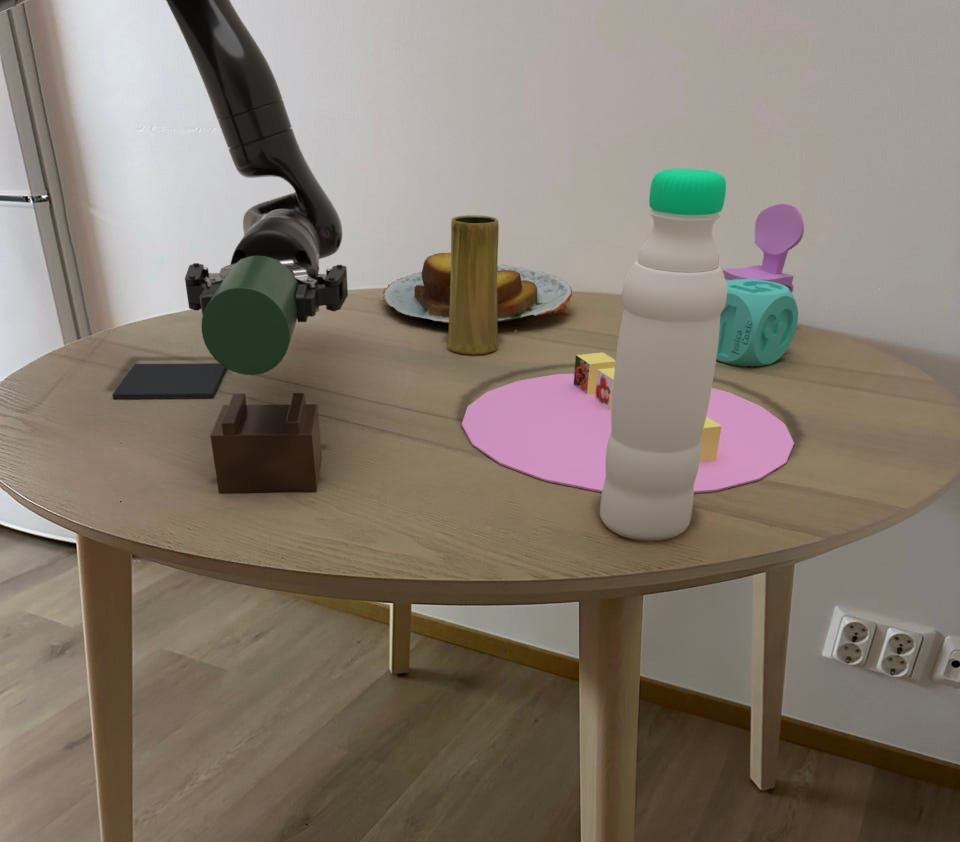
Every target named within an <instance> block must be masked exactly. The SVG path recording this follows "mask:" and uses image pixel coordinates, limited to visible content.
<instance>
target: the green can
mask: <svg viewBox="0 0 960 842" xmlns="http://www.w3.org/2000/svg"><path fill="white" fill-rule="evenodd" d="M298 286H299V285H298V282H297V280H296V278H295V277H294V275H293V274H292V272H291V271H290V270H289V269H288V268H287V267H286V266H285V265H283V264H282V263H280V262H279V261H277V260H275V259H273V258H270V257H266V256H250V257H247V258H244V259H242V260H240V261H238V262H237V263H236V264H235V265H234V266H233V267H232V268H231V269H230V270H229V272H228V273H227V275H226V277H225V278H224V280H223V281H222V283H221V284H220V286H219V288H218V289H217V291H216V292H215V294H214V295H213V297H212V298H211V300H210V302H209V303H208V305H207V307H206V308H205V311H204V313H203V315H202V317H201V334H202V339H203V342H204V345H205V346H206V349H207V350H208V352H209V354H210V355H211V356H212V357H213V359H214V360H215V361H217V363H220V364H221V365H222V366H224V367H226V368H227V369H226V370H229V371H231V372H233V373H237V374H240V375H245V376H257V375H262V374H265V373H267V372H269V371H271V370H273V369H275V368H276V367H277V366H278V365H279V364H280V363H281V362H282V361H283V359H284V358H285V356H286V355H287V352H288V349H289V346H290V343H291V341H292V337H293V334H294V331H295V327H296V324H297V322H298V320H297V307H296V292H297V289H298Z"/></svg>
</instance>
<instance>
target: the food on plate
mask: <svg viewBox="0 0 960 842" xmlns="http://www.w3.org/2000/svg"><path fill="white" fill-rule="evenodd" d="M421 269H422V270H421V271H420V272H418V273H417V272H415V273H413V274H409V275H406V276H405V277H400V278H399V279H398V278H397V279H396V280H395V281H393V282H391V283H390V284H387V287H386V288H383V292H382V295H383V301H385V302H386V303H387V305H388V306H389V307H391V308H392V307H393V308H394V309H395V310H396V312H397V313H401V314H403V315H406V316H409V318H410V317H411V318H412V317H414V318H415V317H416V318H420V319H428V320H432V321H433V322H441V323H446V324H449V311H450V283H451V252H437V253H434V254H432V255H428V256H427V258H425V259H424V262H423V266H422V268H421ZM572 297H573V290H572V287H571V286H570V285H569V284H568V282H566V280H563V279H561V278H560V277H557V276H555V275H552V274H548V273H545V272H543V271H539V270H533V269H529V268H525V267H522V266H518V267H517V266H515V267H514V266H512V265H506V264H497V323H503V322H510V321H513V320H519V319H523V318H527V317H530V316H532V315H533V316H534V317H537V316H539V315H541V316H542V315H545V314H552V313H553V312H554V314H556V313H557V311H559V310H561V309H563V310H562V311H561V312H560V314H559V316H558V317H559V318H565V317H566V315H564V313H563V312H564V308H566V307H567V305H568V303H570V301H571V298H572ZM513 332H514V333H516V332H518V329H515V330H513Z"/></svg>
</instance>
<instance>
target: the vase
mask: <svg viewBox="0 0 960 842" xmlns="http://www.w3.org/2000/svg"><path fill="white" fill-rule="evenodd" d="M450 223H451V224H450V226H451V227H450V228H451V229H450V233H451V234H450V253H451V283H450V311H449V323H448V338H447V342H446V346H447V348H448V350H449V351H451V352H453V353H456V354H461V355H467V356H468V355H469V356H480V355H488V354H492V353H494V352H495V351H497V350H498V349H499V338H498V337H499V336H498V322H497V265H498V259H499V258H498V257H499V256H498V255H499V229H500V228H499V227H500V226H499V220H498V219H497V218H496V217H494V216H488V215H478V214H477V215H474V214H473V215H471V214H469V215H458V216H455V217H452V218H451V221H450Z"/></svg>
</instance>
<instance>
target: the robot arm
mask: <svg viewBox="0 0 960 842" xmlns="http://www.w3.org/2000/svg"><path fill="white" fill-rule="evenodd" d="M165 1H166V3H167V5H168V8H169V10H170V11H171V14H172V16H173V17H174V19H175V21H176V24H177V26H178V28H179V30H180V33H181V34H182V36H183V38H184V40H185V43H186V46H187V48H188V49H189V51H190V54H191V56H192V58H193V61H194V64H195V66H196V68H197V70H198V73H199V75H200V77H201V80H202V82H203V85H204V88H205V90H206V93H207V95H208V98H209V101H210V103H211V106H212V109H213V111H214V115H215V117H216V119H217V122H218V124H219V128H220V129H221V133H222V135H223V139H224V141H225V145H226V146H227V148H228V153H229V155H230V156H231V160H232V162H233V165H234V167H235V169H236V170H237V172H238V173H239V175H241V176H242V177H244V178H249V179H255V178H256V179H257V178H279V179H282V180H284V181H285V182H287V183H288V184H289V185H290V186H291V187H292V189H293V190H294V192H291V193H289V194H285V195H282V196H279V197H277V198H272V199H270V200H266V201H263V202H260V203H257V204H255V205H253V206H251V207H250V208H248V209H247V210H246V211H245V212H244V215H243V219H242V230H243V231H242V232H243V236H242V238H241V239H240V241H239V243H238V244H237V246H236V247H235V249H234V251H233V254H232V256H231V260H230V264H228V265H225V266H223V267H221V268H220V270H219V272H210V270H209V268H208V267H206V266H205V267H204V264H201V263H198V262H193V263H192V264H189V266H188V269H187V270H186V271H187V272H186V274H185V276H184V282H185V291H186V296H187V297H186V298H187V303H188V308H189V310H193V311H200V310H201V315H202V316H203V313H204V311H205V308H206V307H207V305H208V303H209V302H210V300H211V298H212V297H213V295H214V294H215V292H216V291H217V289H218V288H219V286H220V284H221V283H222V281H223V280H224V278H225V277H226V275H227V273H228V272H229V270H230V269H231V268H232V267H233V266H234V265H235V264H236V263H237V262H238V261H240V260H242V259H244V258H247V257H250V256H266V257H270V258H273V259H275V260H277V261H279V262H280V263H282V264H283V265H285V266H286V267H287V268H288V269H289V270H290V271H291V272H292V274H293V275H294V277H295V278H296V280H297V282H298V285H299V286H298V289H297V292H296V307H297V323H307V322H308V317H315V316H316V314H317V312H319V311H320V307H321V306H326V307H325V309H326V310H327V311H330V312H337V311H339V310H341V309H342V307H343V305H344V304H345V301H346V299H347V298H348V296H349V290H348V287H349V286H348V269H347V266H346V265H343V264H336V265H333V266H332V267H331V268H326V269H325V274H324V273H319V272H320V260H321V259H324V258H328V257H330V256H333V255H334V254H336V253H337V252H338V251H339V250H340V247H341V244H342V243H343V242H342V240H343V225H342V221H341V218H340V216H339V213H338V211H337V210H336V207H335V206H334V203H332V201H331V199H330V198H329V196H328V195H327V193H326V192H325V190H324V189H323V186H321V184H320V183H319V181H318V179H317V178H316V175H314V173H313V171H312V170H311V168H310V165H309V164H308V162H307V160H306V158H305V156H304V154H303V151H302V150H301V147H300V145H299V142H298V140H297V138H296V135H295V132H294V129H293V128H292V123H291V119H290V117H289V114H288V111H287V108H286V106H285V102H284V99H283V97H282V93H281V90H280V88H279V85H278V83H277V80H276V78H275V75H274V72H273V71H272V68H271V66H270V65H269V63H268V61H267V59H266V57H265V55H264V53H263V51H262V50H261V48H260V47H259V45H258V44H257V41H255V39H254V37H253V36H252V34H251V32H250V31H249V30H248V28H247V27H246V25H245V23H244V22H243V20H242V19H241V17H240V16H239V14H238V12H237V11H236V9H235V8H234V5H233V3H232V2H231V0H165ZM25 2H28V0H0V14H1V13H3V12H6V11H8V10H10V9H13V8H15V7H17V6H19V5H21V4H24V3H25Z"/></svg>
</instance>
